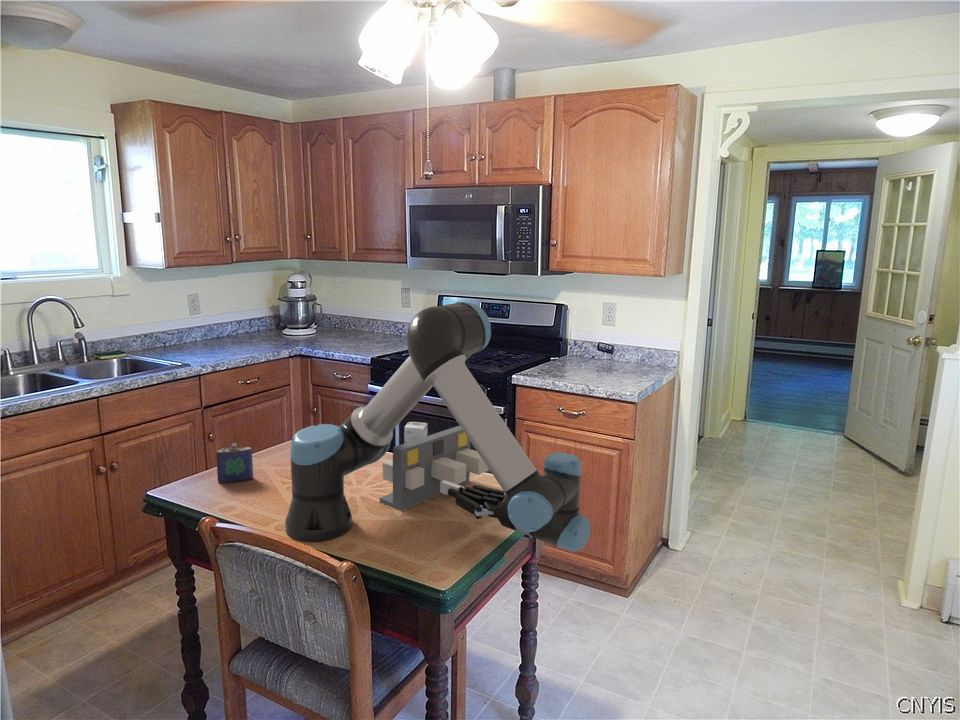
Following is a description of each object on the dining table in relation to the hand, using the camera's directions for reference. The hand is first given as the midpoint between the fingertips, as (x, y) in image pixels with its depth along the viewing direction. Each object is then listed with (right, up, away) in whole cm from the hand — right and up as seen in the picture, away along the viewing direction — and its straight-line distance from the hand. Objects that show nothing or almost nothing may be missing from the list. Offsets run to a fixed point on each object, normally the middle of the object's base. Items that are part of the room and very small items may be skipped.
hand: (442, 486), depth 153 cm
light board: (-5, -5, +17) cm, 19 cm away
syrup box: (-10, -2, +31) cm, 33 cm away
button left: (-10, -1, +9) cm, 14 cm away
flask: (-58, -3, +22) cm, 62 cm away
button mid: (0, 0, +12) cm, 12 cm away
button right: (+6, +1, +20) cm, 20 cm away
